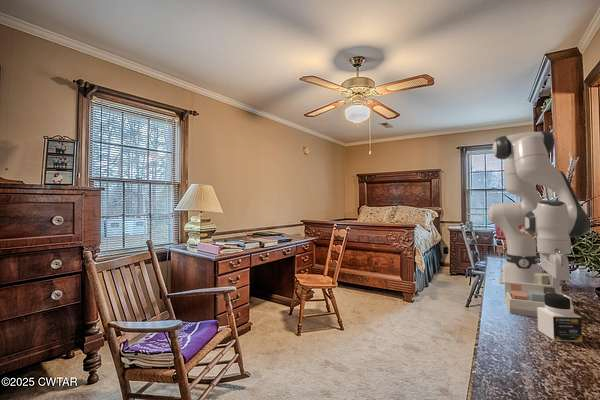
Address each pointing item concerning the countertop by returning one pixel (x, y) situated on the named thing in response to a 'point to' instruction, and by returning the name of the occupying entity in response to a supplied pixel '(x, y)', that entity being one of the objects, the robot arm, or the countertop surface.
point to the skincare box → (542, 278)
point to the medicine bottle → (559, 319)
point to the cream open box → (523, 305)
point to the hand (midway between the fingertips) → (555, 287)
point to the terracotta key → (519, 296)
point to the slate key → (536, 296)
